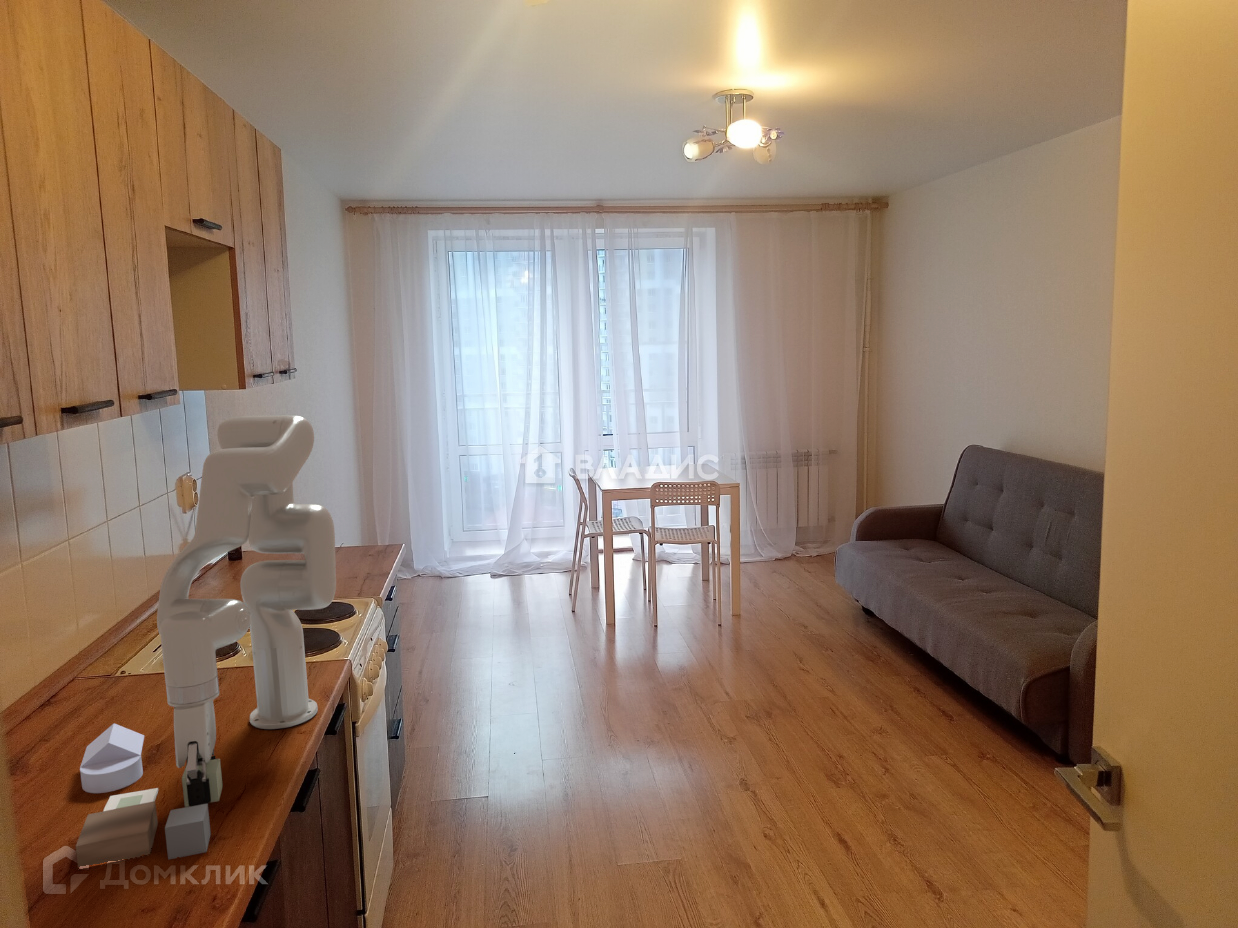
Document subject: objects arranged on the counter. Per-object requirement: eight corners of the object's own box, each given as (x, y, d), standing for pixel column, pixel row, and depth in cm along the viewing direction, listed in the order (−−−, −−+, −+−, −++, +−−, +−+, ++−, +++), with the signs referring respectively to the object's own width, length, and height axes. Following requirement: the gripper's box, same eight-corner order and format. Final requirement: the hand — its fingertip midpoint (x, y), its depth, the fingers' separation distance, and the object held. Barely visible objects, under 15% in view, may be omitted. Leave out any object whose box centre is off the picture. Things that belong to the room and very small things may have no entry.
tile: (110, 799, 140) (110, 794, 140) (158, 791, 143) (157, 786, 143) (100, 821, 134) (99, 816, 134) (150, 812, 136) (149, 807, 136)
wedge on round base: (89, 764, 153) (78, 798, 141) (84, 728, 152) (73, 759, 140) (146, 752, 157) (140, 784, 145) (142, 717, 156) (136, 747, 144)
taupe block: (91, 838, 130) (88, 814, 129) (157, 824, 133) (155, 800, 133) (78, 872, 122) (75, 846, 121) (150, 856, 125) (147, 831, 124)
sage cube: (189, 792, 142) (186, 763, 142) (222, 786, 144) (219, 758, 143) (184, 807, 138) (181, 778, 137) (218, 801, 139) (216, 772, 138)
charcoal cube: (174, 841, 128) (170, 809, 127) (210, 834, 130) (207, 803, 129) (168, 859, 124) (164, 827, 123) (206, 852, 125) (203, 820, 124)
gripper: (176, 673, 145) (186, 771, 148) (156, 714, 129) (168, 824, 131) (224, 666, 147) (234, 763, 150) (211, 706, 131) (222, 814, 134)
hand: (203, 791), depth 141 cm, fingers open, 7 cm apart
